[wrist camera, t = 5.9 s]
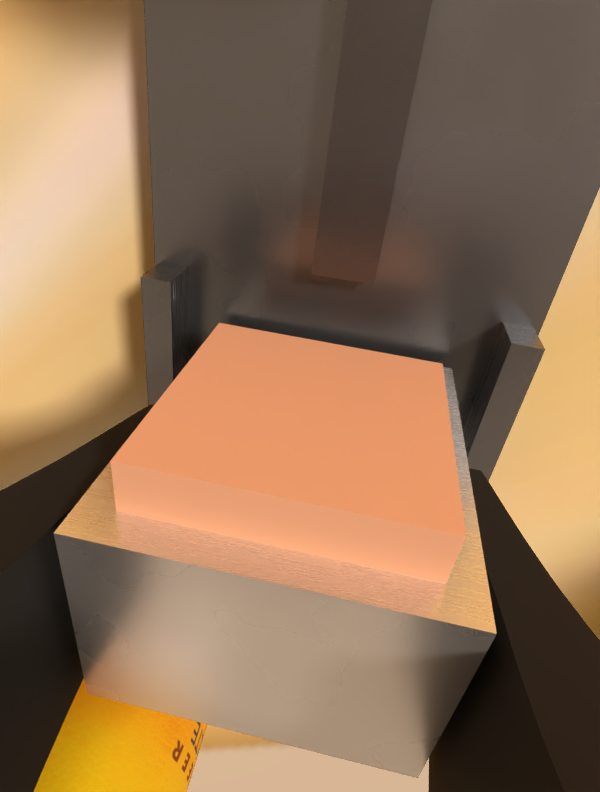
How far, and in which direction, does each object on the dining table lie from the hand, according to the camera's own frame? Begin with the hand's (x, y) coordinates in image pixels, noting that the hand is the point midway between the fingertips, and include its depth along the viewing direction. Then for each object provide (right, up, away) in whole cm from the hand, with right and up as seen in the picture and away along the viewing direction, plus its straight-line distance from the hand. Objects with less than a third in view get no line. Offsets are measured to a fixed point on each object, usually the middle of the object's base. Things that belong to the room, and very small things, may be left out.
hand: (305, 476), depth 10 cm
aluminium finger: (0, +1, +2) cm, 2 cm away
